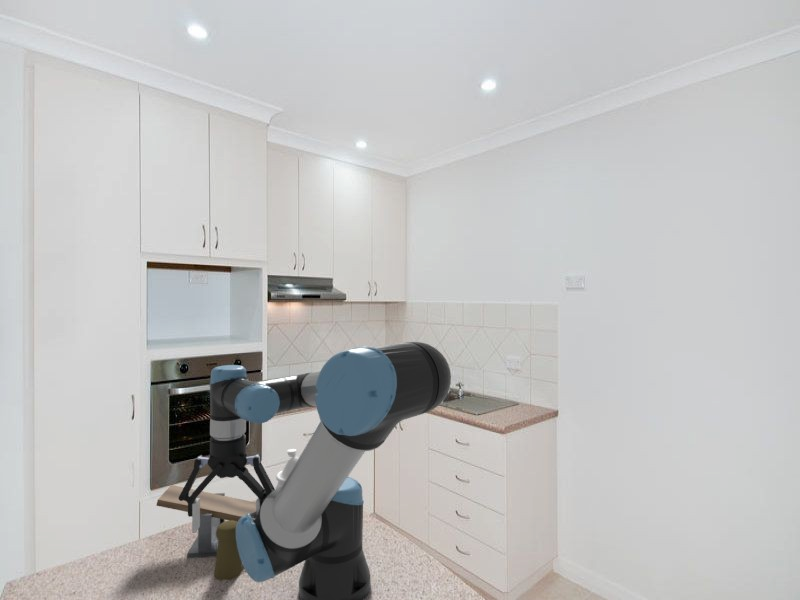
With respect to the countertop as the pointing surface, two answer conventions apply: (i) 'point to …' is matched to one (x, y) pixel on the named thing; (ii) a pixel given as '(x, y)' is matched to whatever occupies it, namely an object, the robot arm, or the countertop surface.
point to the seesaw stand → (206, 537)
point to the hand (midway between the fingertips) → (227, 528)
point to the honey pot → (287, 468)
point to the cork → (227, 552)
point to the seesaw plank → (208, 504)
